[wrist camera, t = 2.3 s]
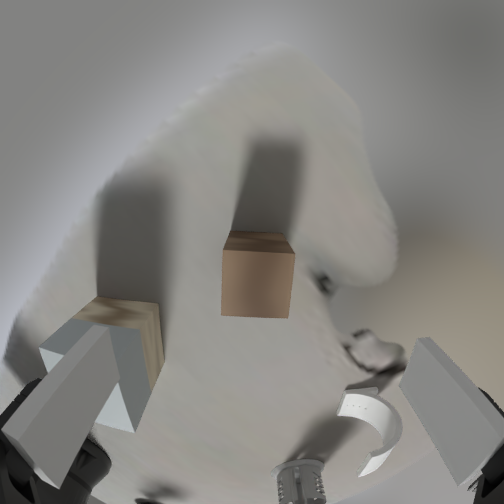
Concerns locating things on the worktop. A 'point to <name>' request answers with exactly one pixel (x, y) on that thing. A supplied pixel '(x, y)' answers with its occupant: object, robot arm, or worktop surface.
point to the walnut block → (257, 275)
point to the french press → (300, 481)
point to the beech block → (131, 326)
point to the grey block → (129, 366)
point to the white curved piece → (373, 422)
